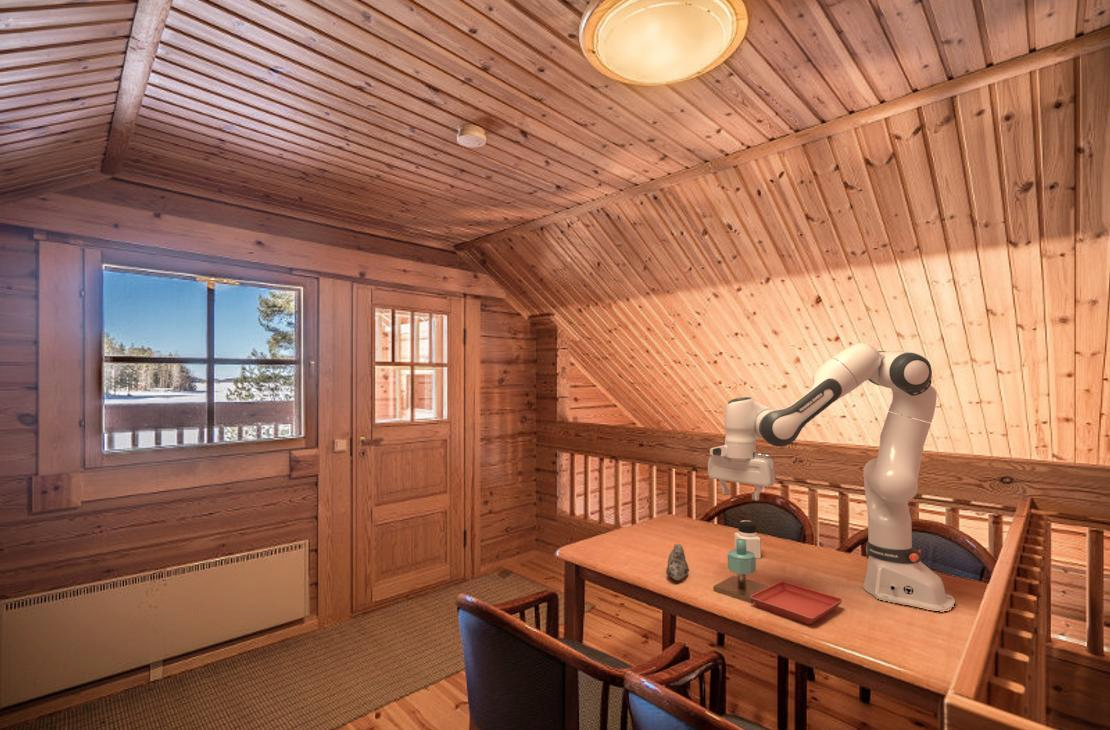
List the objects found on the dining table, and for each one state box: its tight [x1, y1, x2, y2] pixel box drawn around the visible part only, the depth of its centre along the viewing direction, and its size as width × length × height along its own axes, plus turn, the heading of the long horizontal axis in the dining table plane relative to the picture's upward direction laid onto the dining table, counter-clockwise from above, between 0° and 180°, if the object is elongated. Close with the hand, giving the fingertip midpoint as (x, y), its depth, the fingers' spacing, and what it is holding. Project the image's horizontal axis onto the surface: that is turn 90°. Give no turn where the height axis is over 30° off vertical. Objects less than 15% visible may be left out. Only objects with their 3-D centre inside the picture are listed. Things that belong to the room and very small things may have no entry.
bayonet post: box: [712, 573, 771, 604], centre depth 161 cm, size 12×12×10 cm
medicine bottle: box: [734, 520, 762, 559], centre depth 193 cm, size 7×7×12 cm
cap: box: [727, 539, 757, 575], centre depth 162 cm, size 7×7×9 cm
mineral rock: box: [665, 543, 690, 582], centre depth 174 cm, size 13×11×10 cm
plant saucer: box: [750, 580, 844, 625], centre depth 150 cm, size 18×18×3 cm
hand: (740, 497), depth 162 cm, fingers open, 8 cm apart
